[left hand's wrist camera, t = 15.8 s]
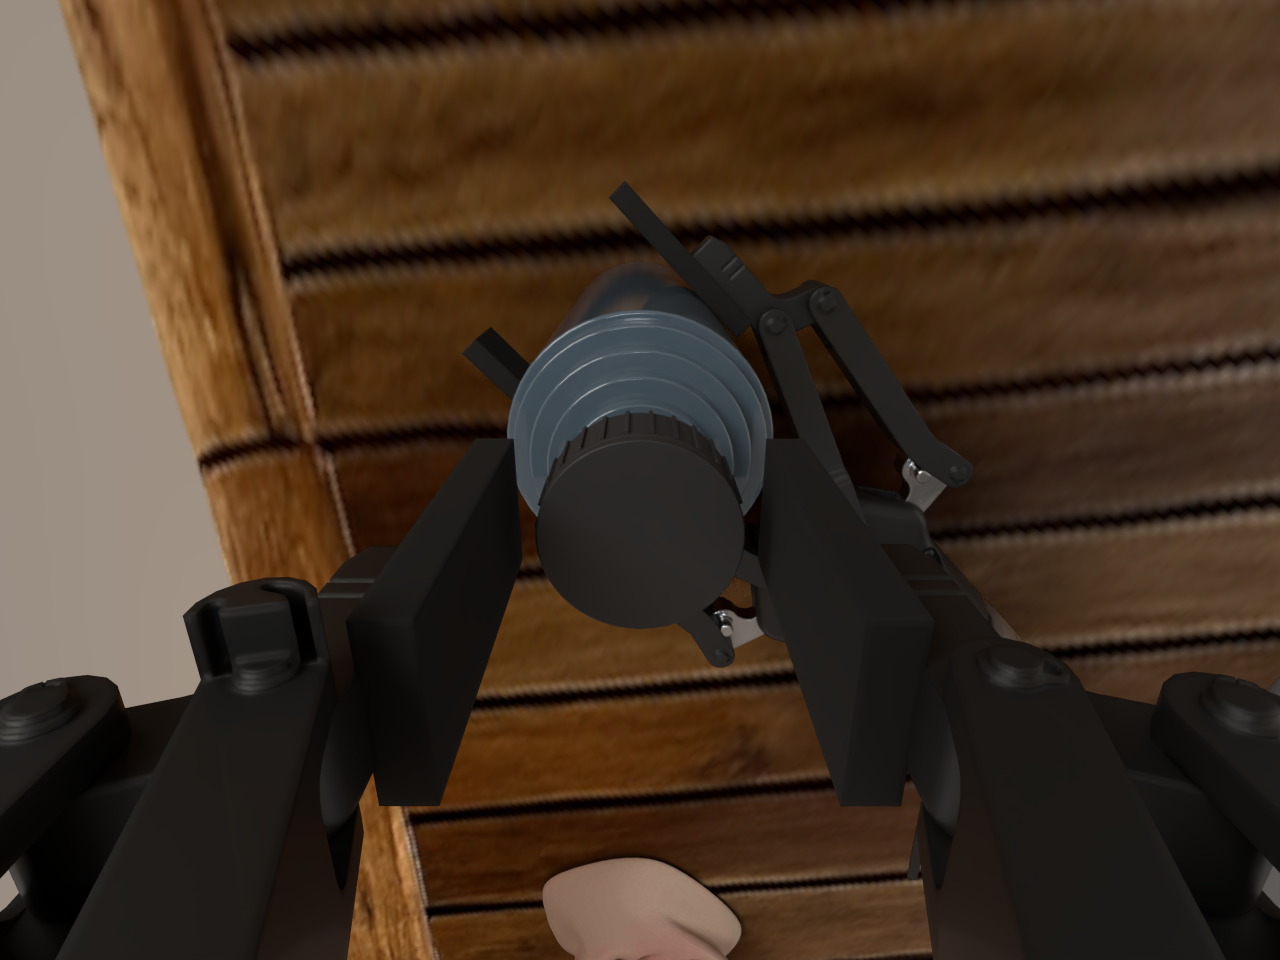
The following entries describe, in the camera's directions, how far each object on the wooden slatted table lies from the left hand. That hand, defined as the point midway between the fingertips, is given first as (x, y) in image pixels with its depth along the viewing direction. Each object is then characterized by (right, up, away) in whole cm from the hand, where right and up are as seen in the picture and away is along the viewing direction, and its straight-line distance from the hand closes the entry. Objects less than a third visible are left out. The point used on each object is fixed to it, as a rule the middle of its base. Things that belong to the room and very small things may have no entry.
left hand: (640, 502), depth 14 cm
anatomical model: (0, -30, +33) cm, 44 cm away
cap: (0, -1, -1) cm, 1 cm away
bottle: (0, +7, +19) cm, 20 cm away
